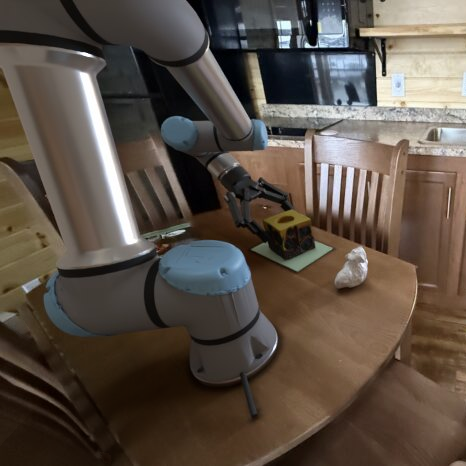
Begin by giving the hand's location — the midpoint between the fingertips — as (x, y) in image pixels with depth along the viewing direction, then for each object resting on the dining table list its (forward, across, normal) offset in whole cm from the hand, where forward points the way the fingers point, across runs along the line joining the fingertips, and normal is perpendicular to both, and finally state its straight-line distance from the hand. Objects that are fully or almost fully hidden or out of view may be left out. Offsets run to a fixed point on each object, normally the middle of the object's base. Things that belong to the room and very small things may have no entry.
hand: (283, 229), depth 92 cm
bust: (+23, +7, +14) cm, 28 cm away
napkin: (+6, 0, -4) cm, 7 cm away
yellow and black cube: (+6, 0, -3) cm, 7 cm away
